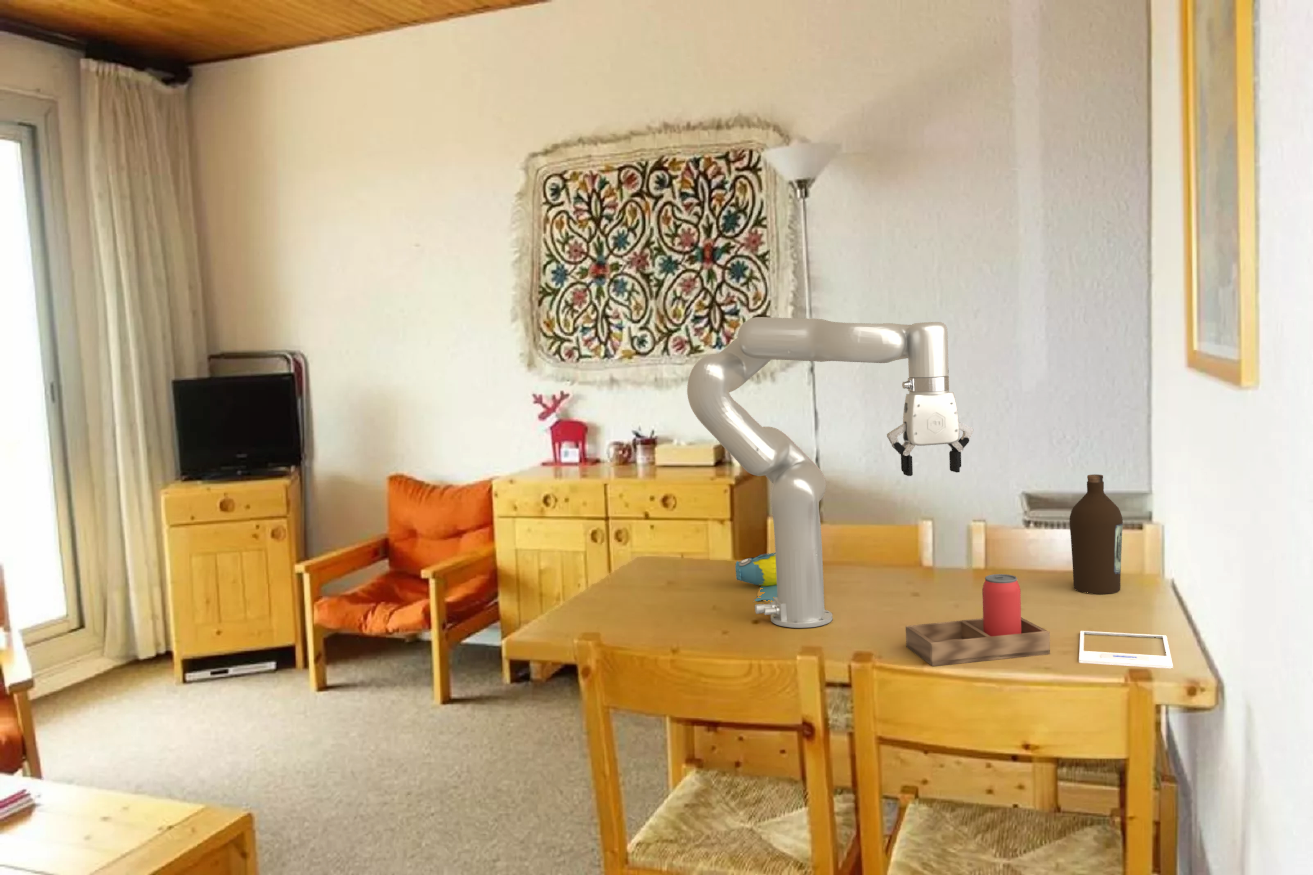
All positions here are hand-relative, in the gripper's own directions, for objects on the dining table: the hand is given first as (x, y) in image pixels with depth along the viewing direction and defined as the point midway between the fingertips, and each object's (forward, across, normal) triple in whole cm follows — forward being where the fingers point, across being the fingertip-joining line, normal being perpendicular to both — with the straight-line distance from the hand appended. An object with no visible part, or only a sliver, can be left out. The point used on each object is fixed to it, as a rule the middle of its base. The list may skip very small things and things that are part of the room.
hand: (931, 473), depth 209 cm
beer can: (+30, +5, -18) cm, 35 cm away
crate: (+30, 0, -18) cm, 35 cm away
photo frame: (+31, +24, -26) cm, 47 cm away
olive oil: (+31, +43, +14) cm, 55 cm away
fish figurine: (+31, -23, +43) cm, 57 cm away
